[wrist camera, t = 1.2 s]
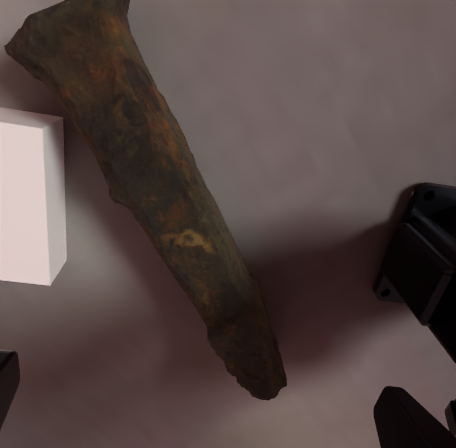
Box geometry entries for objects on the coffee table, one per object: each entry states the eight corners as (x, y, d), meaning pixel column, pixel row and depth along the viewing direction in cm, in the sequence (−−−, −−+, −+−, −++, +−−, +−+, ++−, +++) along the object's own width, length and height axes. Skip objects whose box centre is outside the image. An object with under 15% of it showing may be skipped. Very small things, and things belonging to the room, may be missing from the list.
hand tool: (35, 33, 14) (-39, 33, 10) (129, -14, 13) (92, -35, 9) (225, 360, 22) (228, 434, 18) (288, 340, 22) (306, 412, 18)
